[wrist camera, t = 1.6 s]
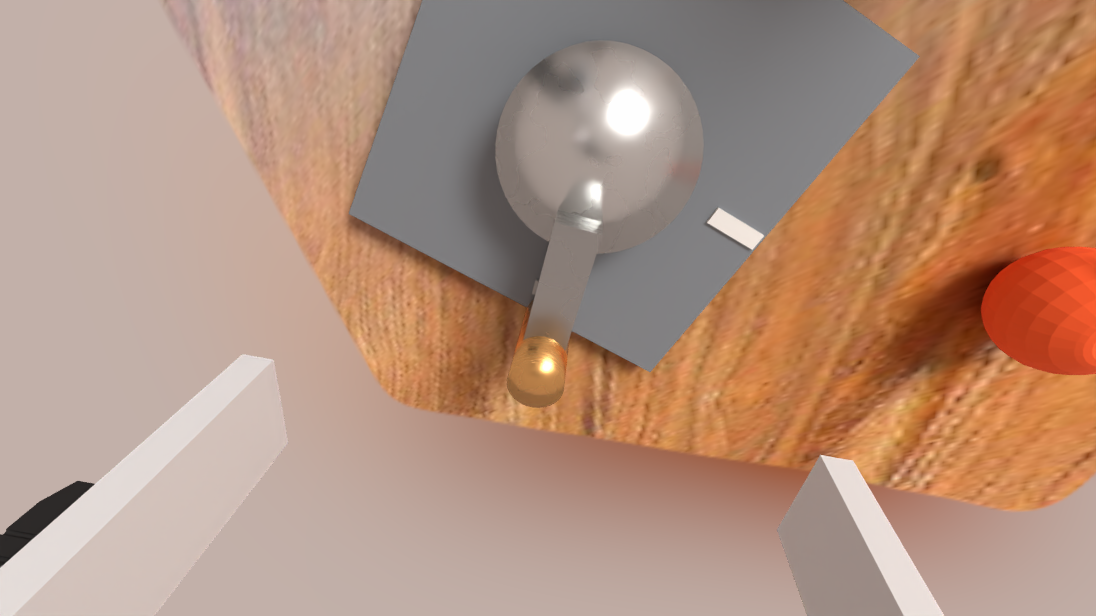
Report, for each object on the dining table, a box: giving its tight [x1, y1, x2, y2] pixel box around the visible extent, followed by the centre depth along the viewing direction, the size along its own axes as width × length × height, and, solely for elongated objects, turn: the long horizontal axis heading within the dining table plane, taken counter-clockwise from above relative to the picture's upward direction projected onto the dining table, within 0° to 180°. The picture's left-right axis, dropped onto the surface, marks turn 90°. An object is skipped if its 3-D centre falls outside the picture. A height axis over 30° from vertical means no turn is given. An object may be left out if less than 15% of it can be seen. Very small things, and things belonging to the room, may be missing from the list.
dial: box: [495, 40, 704, 408], centre depth 25 cm, size 18×10×7 cm, turn 166°
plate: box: [349, 0, 920, 372], centre depth 27 cm, size 22×22×2 cm
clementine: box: [981, 247, 1096, 375], centre depth 26 cm, size 8×7×7 cm
